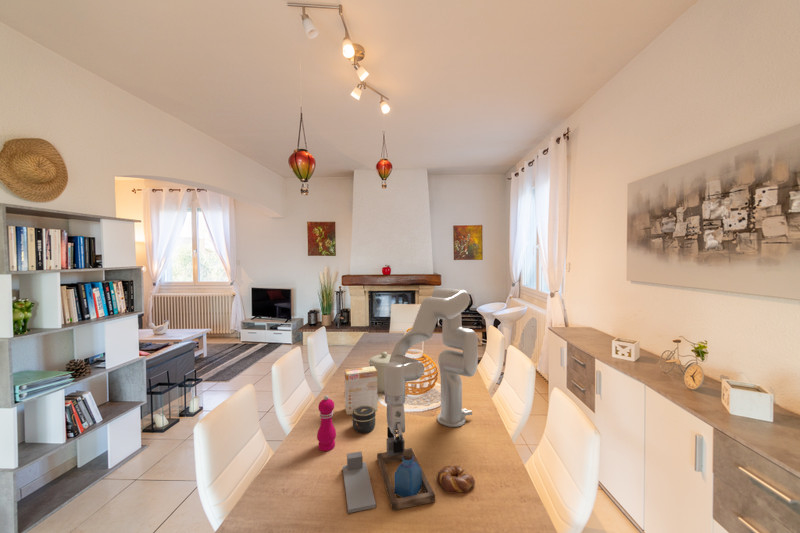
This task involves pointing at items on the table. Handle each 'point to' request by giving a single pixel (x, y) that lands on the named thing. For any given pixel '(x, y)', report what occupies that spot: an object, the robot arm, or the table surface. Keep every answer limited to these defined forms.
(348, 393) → the coffeecake box
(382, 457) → the rectangular wooden frame
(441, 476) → the pretzel
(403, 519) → the table surface
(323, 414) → the pepper mill
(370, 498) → the grey l-shaped piece
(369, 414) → the jar
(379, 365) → the canister
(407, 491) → the perfume bottle
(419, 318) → the robot arm
